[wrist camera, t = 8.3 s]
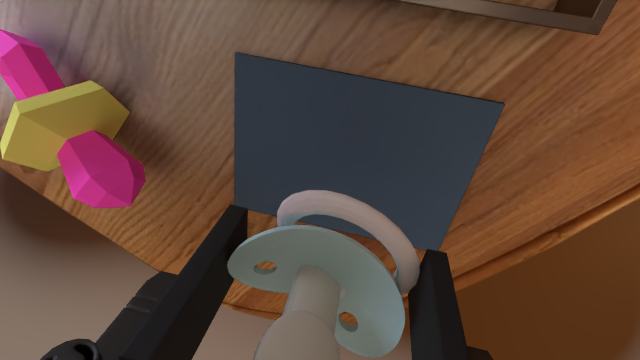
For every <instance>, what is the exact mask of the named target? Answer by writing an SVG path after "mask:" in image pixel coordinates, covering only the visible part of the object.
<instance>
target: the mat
mask: <svg viewBox="0 0 640 360" xmlns="http://www.w3.org/2000/svg"><path fill="white" fill-rule="evenodd" d="M504 105H505V104H504V103H501V102H496V101H491V100H485V99H480V98H475V97H469V96H464V95H459V94H454V93H448V92H443V91H438V90H432V89H427V88H422V87H417V86H411V85H406V84H401V83H396V82H390V81H385V80H380V79H374V78H369V77H364V76H359V75H353V74H348V73H343V72H337V71H332V70H327V69H322V68H316V67H311V66H306V65H300V64H295V63H290V62H285V61H279V60H274V59H269V58H264V57H258V56H253V55H248V54H242V53H235V206H240V207H244V208H248V210H251V211H256V212H260V213H264V214H269V215H273V216H277V211H278V209H279V207H280V205H281V203H282V201H284V200H285V199H287V198H288V197H289V196H291V195H292V194H295V193H299V192H303V191H307V190H327V191H331V192H336V193H340V194H344V195H347V196H350V197H352V198H354V199H357V200H359V201H361V202H364V203H366V204H368V205H369V206H371V207H373V208H374V209H376V210H377V211H379V212H381V213H382V214H384V215H385V216H386V217H387V218H388V219H390V220H391V221H392V222H393V223H394V224H395V225H396V226H398V227H399V228H400V229H401V231H402V232H403V233H404V234H405V236H406V237H407V238H408V240H409V241H410V242H411V243H412V245H413V247H414V248H416V249H421V250H425V251H426V250H427V249H431V250H435V251H438V250H439V248H440V246H441V244H442V242H443V239H444V237H445V235H446V233H447V231H448V228H449V226H450V224H451V222H452V220H453V217H454V215H455V213H456V211H457V209H458V206H459V204H460V202H461V200H462V198H463V196H464V193H465V191H466V189H467V187H468V185H469V182H470V180H471V178H472V176H473V174H474V171H475V169H476V167H477V165H478V163H479V160H480V158H481V156H482V154H483V152H484V149H485V147H486V145H487V143H488V141H489V138H490V136H491V134H492V132H493V130H494V127H495V125H496V123H497V121H498V119H499V116H500V114H501V112H502V110H503V108H504ZM297 221H299V222H303V223H308V224H312V225H316V226H321V227H325V228H329V229H334V230H338V231H343V232H347V233H351V234H356V235H360V236H364V237H369V238H373V239H376V238H375V237H374V236H373V235H372V234H371V233H369V232H367V231H366V230H364V229H363V228H361V227H359V226H358V225H356V224H353V223H351V222H349V221H347V220H344V219H341V218H337V217H333V216H329V215H320V214H313V215H308V216H303V217H302V218H300V219H299V220H297ZM377 240H378V239H377Z"/></svg>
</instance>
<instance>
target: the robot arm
mask: <svg viewBox="0 0 640 360" xmlns="http://www.w3.org/2000/svg"><path fill="white" fill-rule="evenodd" d="M247 219H248V208H244V207H240V206H235V205H231V204H230V205H229V207H228V208H227V209H226V211H225V212H224V214H223V215H222V216H221V218H220V219H219V220H218V222H217V223H216V224H215V226H214V227H213V229H212V230H211V231H210V233H209V234H208V235H207V237H206V238H205V239H204V241H203V242H202V243H201V245H200V246H199V248H198V249H197V250H196V252H195V253H194V254H193V256H192V257H191V258H190V260H189V261H188V263H187V264H186V265H185V267H184V268H183V269H182V271H181V272H180V273H179V275H176V274H172V273H168V272H163V271H161V272H159V273H158V274H156V275H155V276H154V277H152V278H150V279H149V280H147V281H146V283H145V284H144V285H143V286H142V287H141V288H140V290H139V291H138V292H137V293H136V296H135V297H133V298H132V299H131V300H130V302H129V303H128V304H127V306H126V308H124V309H123V310H122V311H121V312H120V314H119V315H118V316H117V317H116V319H115V320H114V321H113V322H112V323H111V325H110V326H109V327H108V328H107V329H106V331H105V332H104V333H103V334H102V335H101V337H100V338H99V339H98V340H97V342H96V343H94V342H92V341H91V340H89V339H75V340H70V341H66V342H64V343H62V344H60V345H58V346H56V347H54V348H53V349H51V350H50V351H49V352H48V353H47V354H46V355H44V356H43V357H42V358H41V359H40V360H192V358H193V356H194V354H195V352H196V350H197V348H198V346H199V345H200V343H201V341H202V339H203V337H204V335H205V333H206V332H207V330H208V328H209V326H210V324H211V322H212V320H213V318H214V317H215V315H216V313H217V311H218V309H219V307H220V305H221V303H222V301H223V300H224V298H225V296H226V294H227V292H228V290H229V288H230V286H231V285H232V283H233V281H234V278H233V277H232V276H231V274H229V271H228V267H227V263H228V261H229V259H230V257H231V255H232V253H233V252H234V250H235V249H236V248H237V247H238V246H239V245H240V244H242V243H243V242H244V241H245V240H247ZM408 302H409V318H410V334H411V351H412V360H493V359H492V357H491V356H490V354H489V352H488V351H486V350H482V349H477V348H474V347H469V346H467V345H466V340H465V336H464V331H463V326H462V322H461V317H460V312H459V308H458V303H457V299H456V294H455V289H454V285H453V280H452V275H451V271H450V266H449V262H448V257H447V253H444V252H440V251H435V250H431V249H427V250H426V253H425V255H424V257H423V260H422V262H421V265H420V275H419V277H418V280H417V283H416V285H415V286H414V287H413V288H412V289H411V290H410V291H409V293H408Z"/></svg>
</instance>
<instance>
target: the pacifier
mask: <svg viewBox="0 0 640 360" xmlns="http://www.w3.org/2000/svg"><path fill="white" fill-rule="evenodd" d="M313 214H320V215H329V216H333V217H337V218H341V219H344V220H347V221H349V222H351V223H353V224H356V225H358V226H359V227H361V228H363V229H364V230H366V231H367V232H369V233H371V234H372V235H373V236H374V237H375V238H376V239H378V240H379V241H380V242H381V243H382V244H383V245H384V246H385V247H386V249H387V250H388V251H389V252H390V253H391V255H392V257H393V259H394V261H395V263H396V265H397V268H396V271H395V272H394V273H393V274H392V275H391V273H390V272H389V271H388V269H387V268H386V267H385V265H384V264H383V263H382V262H381V261H380V260H379V259H378V257H376V256H375V255H374V254H373V253H372V252H371V251H370V250H368V249H367V248H366V247H364V246H363V245H361V244H360V243H358V242H357V241H355V240H353V239H352V238H350V237H348V236H345V235H343V234H341V233H338V232H335V231H332V230H329V229H326V228H321V227H315V226H306V225H297V220H299V219H300V218H302V217H303V216H308V215H313ZM277 226H278V227H276V228H273V229H270V230H266V231H264V232H261V233H259V234H256V235H254V236H252V237H251V238H249V239H247V240H245V241H244V242H243V243H242V244H240V245H239V246H238V247H237V248H236V249H235V250H234V252H233V253H232V255H231V257H230V259H229V261H228V263H227V267H228V271H229V274H231V276H232V277H233V278H234V279H236V280H238V281H239V282H241V283H243V284H245V285H248V286H251V287H254V288H257V289H262V290H266V291H272V292H280V293H289V295H288V298H287V301H286V304H285V307H284V311H283V314H282V316H281V317H280V318H278V319H277V320H276V321H275V322H273V323H272V324H271V325H270V326H269V328H268V329H267V330H266V332H265V333H264V334H263V336H262V338H261V340H260V341H259V343H258V346H257V348H256V351H255V354H254V358H253V360H340V354H339V348H338V345H337V342H338V343H339V344H340V345H341V346H343V347H345V348H346V349H348V350H350V351H351V352H354V353H356V354H359V355H361V356H366V357H380V356H383V355H385V354H387V353H388V352H390V351H391V350H392V349H394V347H395V346H396V345H397V343H398V342H399V340H400V338H401V335H402V331H403V329H404V323H405V313H404V304H403V300H402V297H401V295H403V294H405V293H407V292H409V291H410V290H411V289H412V288H413V287H414V286H415V285H416V283H417V280H418V277H419V275H420V263H419V258H418V256H417V254H416V251H415V249H414V247H413V245H412V243H411V242H410V241H409V240H408V238H407V237H406V236H405V234H404V233H403V232H402V231H401V229H400V228H399V227H398V226H396V225H395V224H394V223H393V222H392V221H391V220H390V219H388V218H387V217H386V216H385V215H384V214H382V213H381V212H379V211H377V210H376V209H374V208H373V207H371V206H369V205H368V204H366V203H364V202H361V201H359V200H357V199H354V198H352V197H350V196H347V195H344V194H340V193H336V192H331V191H327V190H307V191H303V192H299V193H295V194H292V195H291V196H289V197H288V198H287V199H285V200H284V201H282V203H281V205H280V207H279V209H278V211H277ZM265 261H268V262H272V263H274V264H276V267H275V268H272V269H261V268H259V267H257V265H256V264H258V263H260V262H265ZM342 312H349V313H351V314H353V315H354V316H355V318H356V319H357V321H358V323H357V325H355V326H350V325H347V324H346V323H344V322H343V320H342V319H341V317H340V314H341V313H342Z"/></svg>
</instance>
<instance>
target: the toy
mask: <svg viewBox="0 0 640 360" xmlns="http://www.w3.org/2000/svg"><path fill="white" fill-rule="evenodd" d="M0 74H1V76H2V77H3V79H4V80H5V82H6V83H7V85H8V86H9V88H10V89H11V90H12V92H13V93H14V95H15V96H16V98H17V99H18V101H17V102H15V103H14V105H13V108H12V111H11V114H10V117H9V119H8V122H7V125H6V128H5V131H4V134H3V136H2V139H1V142H0V148H1V153H2V159H3V160H7V161H11V162H14V163H18V164H21V165H25V166H29V167H32V168H36V169H39V170H43V171H46V172H48V171H50V170H53V169H55V168H58V167H60V166H61V167H62V169H63V172H64V174H65V177H66V180H67V182H68V185H69V187H70V190H71V192H72V195H73V198H74V199H76V200H79V201H81V202H83V203H85V204H87V205H89V206H92V207H94V208H114V207H124V206H131V205H132V203H133V201H134V200H135V198H136V196H137V195H138V193H139V192H140V190H141V188H142V187H143V185H144V183H145V182H146V180H145V173H144V167H143V164H142V163H140V162H139V161H138V160H136V159H135V158H134V157H133V156H131V155H130V154H129V153H128V152H126V151H125V150H124V149H123V148H121V147H120V146H119V145H118V144H116V143H115V142H114V141H113V139H114V137H115V136H116V134H117V133H118V131H119V129H120V128H121V126H122V125H123V123H124V121H125V120H126V118H127V117H128V115H129V113H130V111H128V110H127V109H126V108H125V107H124V106H123V105H122V104H121V103H120V102H118V101H117V100H116V99H115V98H114V97H113V96H112V95H111V94H110V93H108V92H107V91H106V90H105V89H104V88H103V87H101V86H99V85H98V84H96V83H94V82H93V81H91V80H90V81H86V82H83V83H79V84H76V85H72V86H69V87H65V86H64V84H63V82H62V81H61V79H60V77H59V76H58V74H57V73H56V71H55V69H54V68H53V66H52V64H51V63H50V61H49V59H48V58H47V56H46V54H45V53H44V51H43V49H42V48H40V47H39V46H37V45H36V44H34V43H33V42H31V41H30V40H29V39H27V38H25V37H22V36H19V35H16V34H13V33H10V32H7V31H4V30H1V29H0Z"/></svg>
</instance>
